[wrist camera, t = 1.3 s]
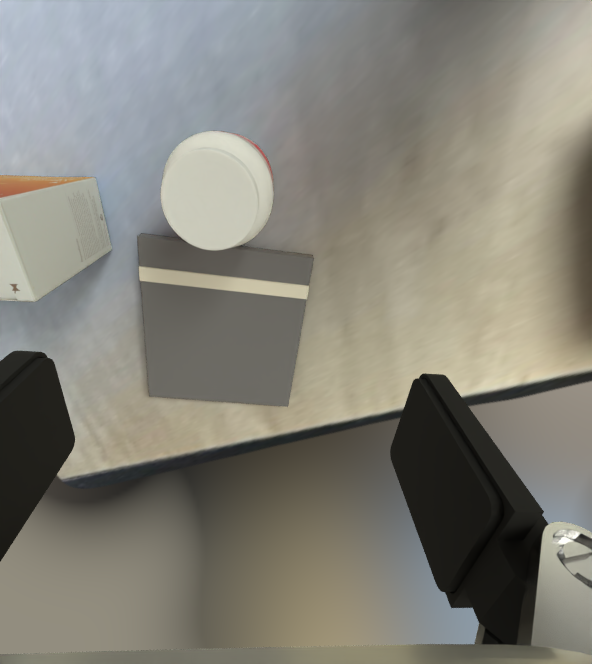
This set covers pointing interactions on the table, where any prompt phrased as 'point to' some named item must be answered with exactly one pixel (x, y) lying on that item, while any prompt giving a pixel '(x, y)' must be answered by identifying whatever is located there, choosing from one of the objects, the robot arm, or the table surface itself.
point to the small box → (47, 233)
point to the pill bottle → (217, 190)
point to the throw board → (221, 320)
